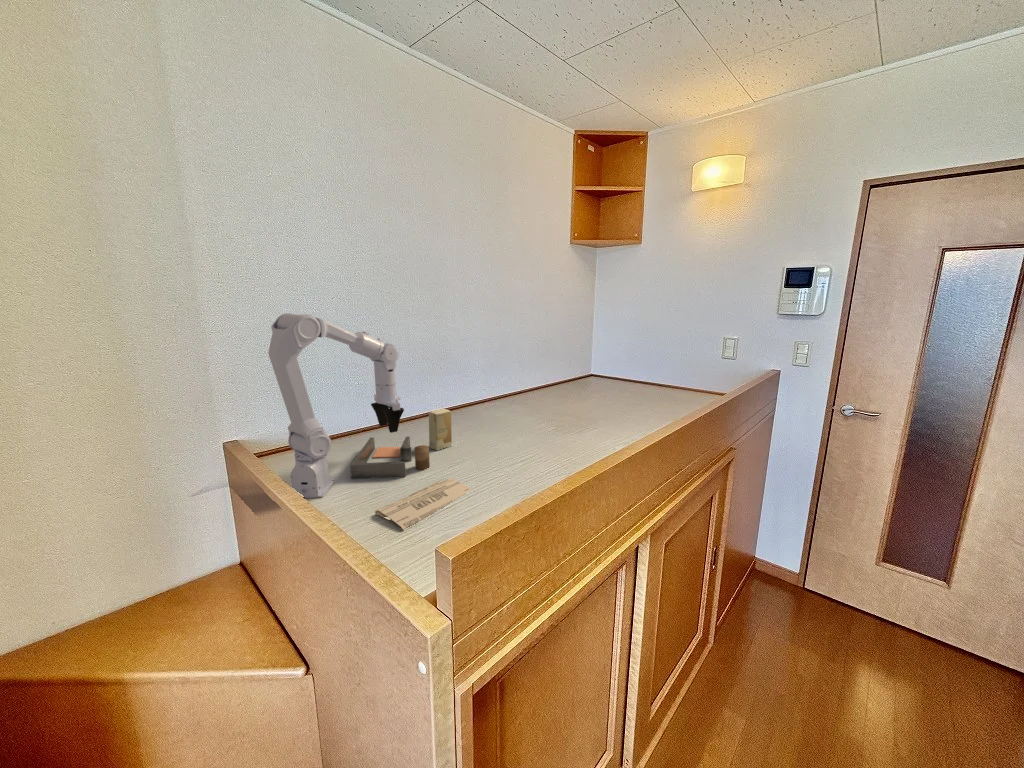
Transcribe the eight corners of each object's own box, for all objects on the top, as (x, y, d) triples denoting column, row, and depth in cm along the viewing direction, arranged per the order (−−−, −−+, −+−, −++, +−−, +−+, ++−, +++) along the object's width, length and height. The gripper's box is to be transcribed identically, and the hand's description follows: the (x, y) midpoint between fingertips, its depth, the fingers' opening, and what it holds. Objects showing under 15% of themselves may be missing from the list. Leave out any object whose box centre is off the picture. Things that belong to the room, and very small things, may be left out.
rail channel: (405, 477, 111) (404, 463, 110) (351, 478, 109) (350, 465, 108) (415, 448, 132) (415, 436, 131) (371, 449, 130) (370, 437, 130)
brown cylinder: (428, 470, 115) (428, 450, 114) (414, 470, 115) (413, 450, 114) (430, 464, 119) (429, 445, 118) (416, 464, 119) (415, 445, 118)
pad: (399, 457, 124) (399, 456, 124) (372, 458, 123) (372, 456, 123) (403, 447, 132) (403, 446, 132) (378, 448, 131) (378, 447, 131)
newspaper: (443, 482, 109) (444, 473, 109) (475, 500, 102) (476, 491, 101) (367, 515, 92) (367, 505, 92) (399, 540, 85) (399, 529, 84)
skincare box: (437, 451, 129) (435, 414, 127) (428, 447, 132) (427, 411, 129) (452, 446, 134) (451, 410, 131) (444, 442, 137) (443, 407, 134)
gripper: (409, 386, 115) (411, 432, 118) (388, 378, 126) (391, 420, 129) (385, 389, 110) (388, 437, 113) (366, 381, 121) (369, 424, 124)
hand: (388, 428), depth 121 cm, fingers open, 7 cm apart
